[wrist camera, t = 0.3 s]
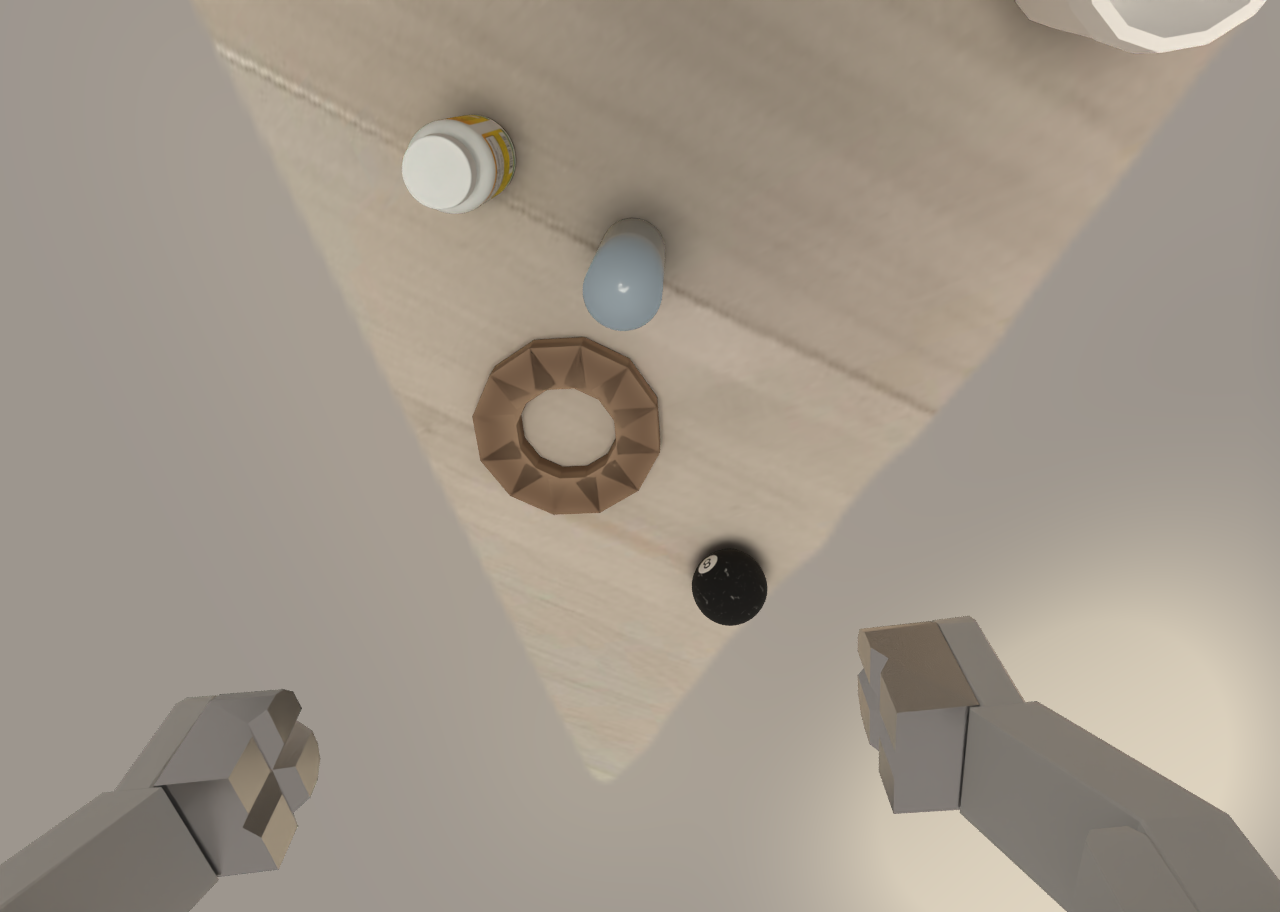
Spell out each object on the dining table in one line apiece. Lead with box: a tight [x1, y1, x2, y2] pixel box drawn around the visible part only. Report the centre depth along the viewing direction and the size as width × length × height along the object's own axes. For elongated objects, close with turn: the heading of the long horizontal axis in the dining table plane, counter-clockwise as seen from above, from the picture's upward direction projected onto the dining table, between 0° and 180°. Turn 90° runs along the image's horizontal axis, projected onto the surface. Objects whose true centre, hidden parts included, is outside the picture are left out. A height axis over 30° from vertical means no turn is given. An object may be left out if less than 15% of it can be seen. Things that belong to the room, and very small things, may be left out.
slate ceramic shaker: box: [583, 218, 665, 331], centre depth 49 cm, size 5×5×11 cm
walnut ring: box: [472, 337, 660, 515], centre depth 60 cm, size 14×14×2 cm
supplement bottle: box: [402, 115, 516, 214], centre depth 48 cm, size 5×5×10 cm
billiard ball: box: [692, 549, 767, 626], centre depth 63 cm, size 6×6×6 cm
